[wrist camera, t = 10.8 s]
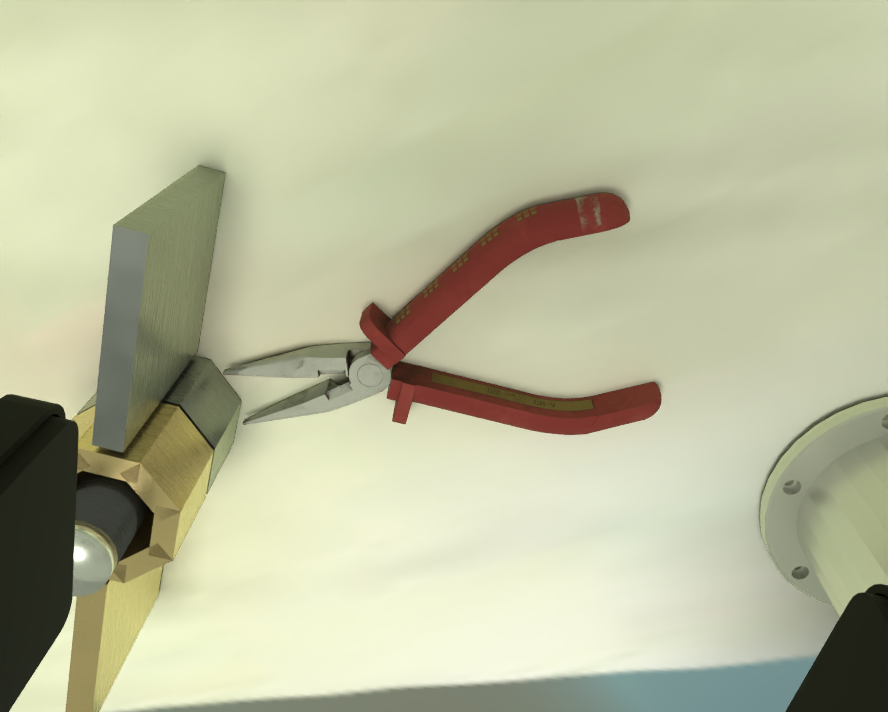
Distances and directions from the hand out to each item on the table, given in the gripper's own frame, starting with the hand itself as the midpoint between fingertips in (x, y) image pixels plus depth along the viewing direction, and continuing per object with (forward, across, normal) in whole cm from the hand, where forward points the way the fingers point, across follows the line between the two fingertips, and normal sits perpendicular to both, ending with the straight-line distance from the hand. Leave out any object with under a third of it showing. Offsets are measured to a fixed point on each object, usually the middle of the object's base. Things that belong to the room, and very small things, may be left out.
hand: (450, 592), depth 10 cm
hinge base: (+28, +11, +11) cm, 32 cm away
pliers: (+28, -1, +8) cm, 30 cm away
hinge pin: (+28, +12, +16) cm, 34 cm away
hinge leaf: (+27, +12, +21) cm, 36 cm away
